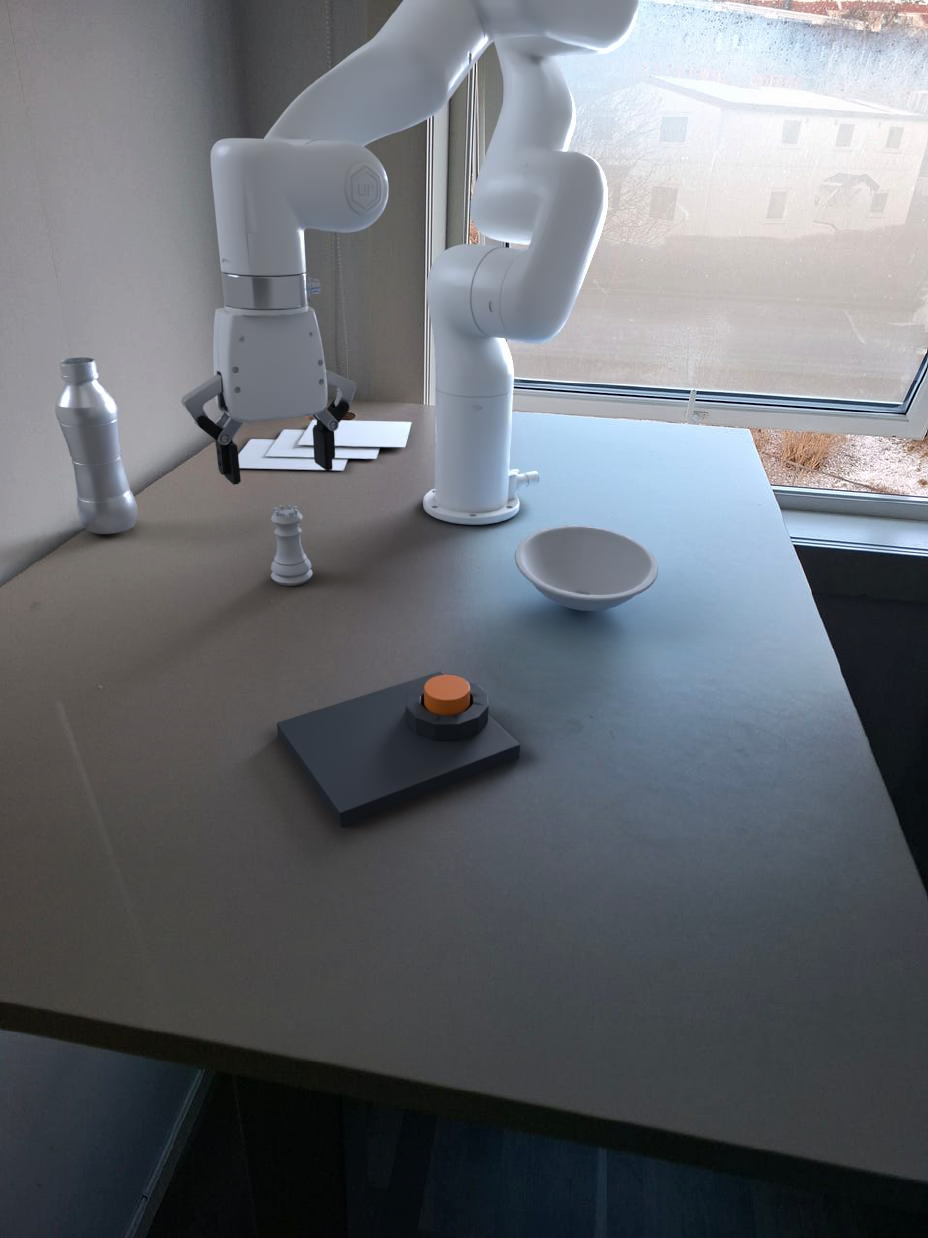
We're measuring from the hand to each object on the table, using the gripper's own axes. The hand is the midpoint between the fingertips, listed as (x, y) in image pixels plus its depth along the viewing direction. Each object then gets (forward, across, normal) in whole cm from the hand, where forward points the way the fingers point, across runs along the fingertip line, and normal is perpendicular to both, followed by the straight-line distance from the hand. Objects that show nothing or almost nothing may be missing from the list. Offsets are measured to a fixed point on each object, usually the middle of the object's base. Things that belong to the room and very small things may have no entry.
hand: (279, 473), depth 85 cm
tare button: (+10, -1, +32) cm, 33 cm away
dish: (+12, -25, +20) cm, 34 cm away
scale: (+12, +3, +32) cm, 34 cm away
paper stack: (+11, -23, -41) cm, 48 cm away
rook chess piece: (+12, -1, 0) cm, 12 cm away
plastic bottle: (+12, +13, -23) cm, 29 cm away
